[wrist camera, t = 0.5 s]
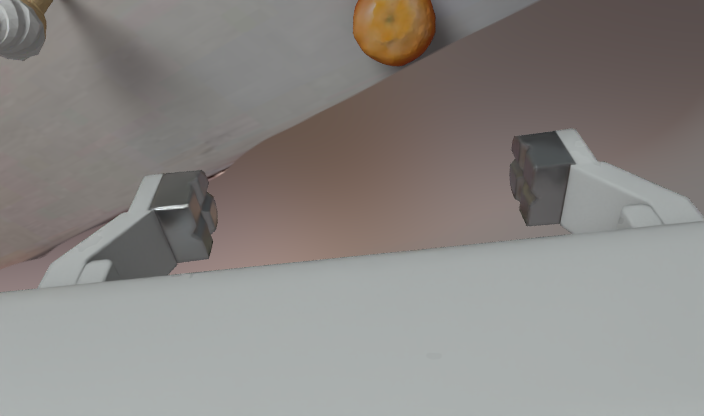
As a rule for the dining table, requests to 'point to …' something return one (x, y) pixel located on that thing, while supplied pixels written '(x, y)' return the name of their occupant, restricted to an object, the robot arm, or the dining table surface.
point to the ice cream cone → (22, 28)
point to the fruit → (394, 29)
